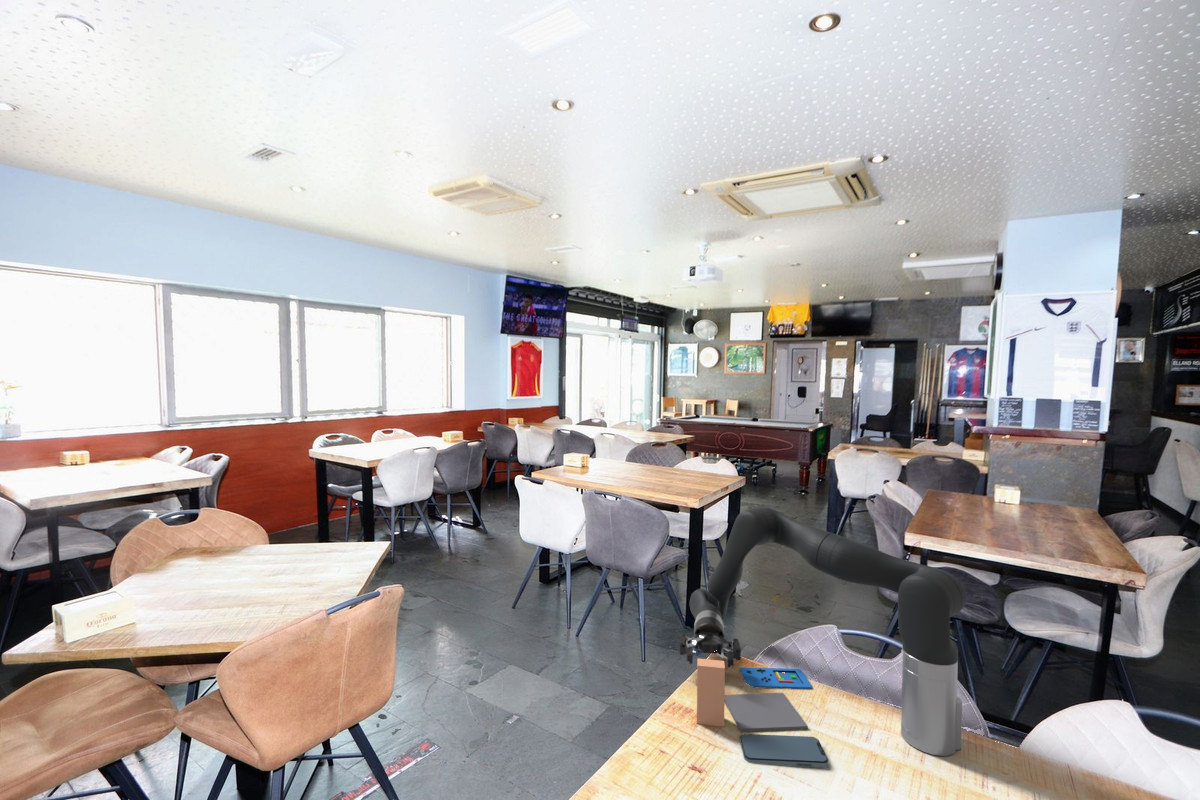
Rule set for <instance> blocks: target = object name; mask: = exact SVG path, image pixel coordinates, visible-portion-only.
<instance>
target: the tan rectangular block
mask: <svg viewBox="0 0 1200 800" xmlns="http://www.w3.org/2000/svg"><path fill="white" fill-rule="evenodd" d="M696 666H697V667H696V668H697V669H696V670H697V671H696V672H697V675H696V676H697V678H696V679H697V680H696V681H697V682H696V724H700V725H707V726H708V725H709V726H716V727H725V702H724V699H725V695H726V693H725V689H726V688H725V686H726V685H725V683H726V682H725V681H726V675H725V674H726V666H725V661H724V660H718V659H717V660H716V659H707V658H697V665H696Z"/></svg>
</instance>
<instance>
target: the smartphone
mask: <svg viewBox="0 0 1200 800" xmlns="http://www.w3.org/2000/svg"><path fill="white" fill-rule="evenodd" d="M739 741H740V746H741V750H742V754H743V755H742V756H743V758H744V760H745V762H748V763H751V764H752V763H753V764H764V765H778V766H788V767H789V766H790V767H803V768H804V767H806V768H820V769H824V768H827V767H828V766H829V759H828V757H827V755H826V753H825V751H824V749H823V748H824V747H823V746H822V744H821V742H820V740H819V739H818V738H817V737H814V736H807V735H806V736H805V735H781V734H780V735H779V734H778V735H777V734H757V733H756V734H755V733H742V734H740V736H739Z"/></svg>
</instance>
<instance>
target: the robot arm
mask: <svg viewBox="0 0 1200 800" xmlns="http://www.w3.org/2000/svg"><path fill="white" fill-rule="evenodd" d="M733 523H734V524H733V526H732V527H731V528H732V529H731V532H730V534H729V537H728V540H727V542H726V545H725V547H724V551H723V553H722V555H721V558H720V559H719V561H718V563H717V565H716V567H715V568H714V570H713V571H712V574H711V575H710V577H709V579H708V580H707V583H706V586H707V589H704V588H697V589H696V590H694V591H693V592H692V593H691V595H690V598H689V609H690V612H691V614H692V616H693V617H694V620H695V621H694V624H693V626H694V627H693V636H692V637H688V636H687V634H686V633H681V635H680V639H679V642H678V643H679V645H678V646H679V648H678V654H679V655H682V656H683V655H686V656H685V657H686V661H687V662H688V663H689V665H693V661H694V660H693V656H695V657H696V656H699V655H701V654H711V655H712V654H714V655H717V656H719V657H720V658H721V659H726V663H727V666H726V667H727V668H728V669H731V668H732V667H733V666H734V665H735V661H741V660H742V659H741V658H742V655H741V653H742V648H741V645H740V641H739V639H738V638H732V641H728V640H727V639H726V638H725V637H726V636H725V627H724V623H723V620H724V619H725V617H726V615H727V612H728V605H729V601H730V598H731V595H732V594H733V592H734V590H736V587H737V586H738V584H739V582H740V580H741V578H742V575H743V564H744V560H745V559H746V557H747V555H748V554H749V553H750V552H751V551H752V549H754V548H755V547H756V546H761V545H765V544H768V543H774V544H778V545H782V546H784V547H787V548H789V549H792V550H793V551H795V552H797V553H798V554H799V555H800V556H801V557H802V559H803V560H804V561H805V562H806V563H807V564H809V565H810V566H811V567H813V569H815V570H817V571H819V572H822V573H824V574H826V575H829V576H831V577H833V578H835V579H837V580H840V581H844V582H849V583H853V584H859V585H862V586H863V585H865V586H870V587H876V588H883V589H887V590H889V591H891V592H892V591H893V592H894V593H897V619H898V623H897V624H898V632H899V635H900V638H901V640H902V641H901V642H902V655H901V656H902V660H901V662H902V663H901V664H902V666H901V717H900V718H901V719H900V721H901V722H900V733H901V737H902V738H903V740H905V742H906V743H908V744H909V745H910V746H912V747H913V748H915V749H917V750H919V751H922V752H924V753H926V754H930V755H933V756H938V757H939V756H941V757H943V756H944V757H946V756H947V757H948V756H950V755H954V753H955V752H956V751H957V750H958V751H959V750H962V732H963V731H962V727H963V726H962V725H963V724H962V720H963V717H962V716H963V701H962V699H961V698H960V697H959V696H958V673H959V671H958V667H959V666H958V662H959V649H958V645H957V644H956V642H955V641H954V640H952V638H951V628H950V627H951V626H950V625H951V624H950V623H951V620H950V619H951V618H952V617H953V616H956V615H957V614H958V613H960V612H961V611H962V610H963V609H964V607H965V606H966V604H967V601H968V595H967V591H966V589H965V587H964V585H963V584H962V583H961V581H960V580H959V579H958V578H957V577H955V576H954V575H953V574H951V573H950V572H948V571H945V570H944V569H940V568H937V567H935V566H930V565H926V564H921V563H917V562H915V561H911V560H906V559H903V558H899V557H896V556H893V555H891V554H888V553H886V552H883V551H881V550H879V549H875V548H873V547H870V546H868V545H865V544H862V543H860V542H858V541H855V540H852V539H849V538H847V537H844V536H842V535H839V534H836V533H833V532H830V531H826V530H824V529H821V528H819V527H815V526H812V525H809V524H806V523H803V522H800V521H798V520H795V519H793V518H792V517H789V516H787V515H785V514H783V513H781V512H779V511H777V510H776V509H774V508H770V507H766V506H759V507H754V508H750V509H745V510H743V511H741V512H740V513H739V514H738V515H737V516H736V518H735V520H734V522H733ZM716 650H717V651H716ZM714 651H715V652H714Z"/></svg>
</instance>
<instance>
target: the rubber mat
mask: <svg viewBox="0 0 1200 800" xmlns="http://www.w3.org/2000/svg"><path fill="white" fill-rule="evenodd" d="M724 705H726V708H727V710H728V711H729V713H730V715H731V717H732V719H733V721H734V722H735V724H736V726H737V728H738V730H739V732H741V733H742V732H747V733H748V732H764V731H765V732H770V731H792V730H793V731H794V730H808V728H809V727H808V726H809V725H808V724H807V723H806V721H805V720H804V718H803V717H802V716H801V715H800V714H799V712H798V711H797V709H796V708H795V706H794V705H793V704H792V703H791V701H790V700H789V699H788V697H787V696H786V695H785V693H784V692H768V693H766V692H765V693H741V694H739V693H737V694H725V699H724Z"/></svg>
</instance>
